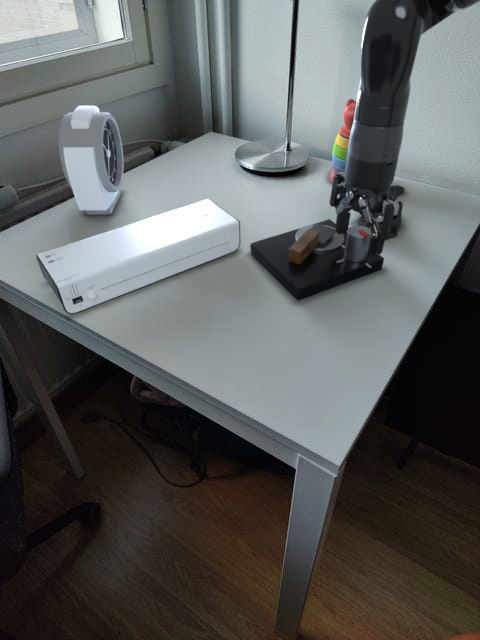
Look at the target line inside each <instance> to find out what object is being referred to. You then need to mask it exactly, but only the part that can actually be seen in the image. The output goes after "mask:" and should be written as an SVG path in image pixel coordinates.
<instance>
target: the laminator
mask: <svg viewBox="0 0 480 640" xmlns="http://www.w3.org/2000/svg"><path fill="white" fill-rule="evenodd" d="M240 246H241V221H240V220H239V219H238V218H236V216H233V215H232V214H231V213H229V212H228V211H227V210H225V209H224V208H223V207H221V206H220V205H218V204H217V203H215V202H214V201H213V200H211V199H210V198H207V199H204V200H200V201H199V202H194V203H192V204H188V205H186V206H183V207H179V208H177V209H173V210H170V211H167V212H164V213H161V214H158V215H153V216H152V217H148V218H145V219H142V220H139V221H136V222H133V223H129V224H127V225H124V226H120V227H116V228H114V229H112V230H107V231H105V232H102V233H99V234H96V235H93V236H90V237H87V238H82V239H80V240H77V241H74V242H71V243H68V244H64V245H61V246H59V247H55V248H52V249H49V250H47V251H43V252H40V253H37V254H35V258H36V260H37V263H38V266H39V268H40V272H41V274H42V276H43V278H44V279H45V280H46V281H47V283H48V285H49V286H50V288H51V289H52V291H53V294H55V296H56V297H57V299H58V301H59V302H60V304H61V306H62V308H63V310H64V312H65V313H66V314H69V315H76V314H79V313H82V312H84V311H87V310H90V309H93V308H94V307H97V306H99V305H102V304H105V303H107V302H110V301H112V300H115V299H118V298H120V297H123V296H125V295H128V294H130V293H133V292H135V291H139V290H141V289H143V288H146V287H149V286H151V285H154V284H156V283H158V282H161V281H164V280H167V279H169V278H171V277H174V276H177V275H180V274H181V273H185V272H187V271H190V270H192V269H194V268H198V267H200V266H202V265H205V264H209V263H210V262H213V261H215V260H218V259H220V258H223V257H225V256H229V255H231V254H233V253H235V252H236V251H238V250H239V248H240Z"/></svg>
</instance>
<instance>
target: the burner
mask: <svg viewBox="0 0 480 640" xmlns="http://www.w3.org/2000/svg"><path fill="white" fill-rule="evenodd" d="M313 226H314V225H312V224H309V225H305V226H303V228H302V227H300V228H301V229H299V228H298V229H299V230H298V231H297V233H296V241H297V240H298V239H299V238H300V237H301V236H302V235H303V234H304V233H305V232H306V231H307V230H308V229H311V228H312V227H313ZM323 226H327V225H323ZM327 227H330V228H333V227H331V226H327ZM333 229H336V228H333ZM343 243H344V235H343V234H340V235H339V234H338V233H335V234H334V235H333V236H332V237H331V238H330V240H329V241H328V242H327V243H326V244H325V245H321V244H318V245H317V246H316V247H315V248H314V250H313V251H318V252H326V251H332V250H335V249H337V248H339V247H341V245H342V244H343Z"/></svg>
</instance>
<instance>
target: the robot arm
mask: <svg viewBox="0 0 480 640" xmlns="http://www.w3.org/2000/svg"><path fill="white" fill-rule="evenodd" d="M478 3H480V0H374V2H373V3H372V4H371V6H370V8H369V9H368V12H367V14H366V16H365V20H364V24H363V30H362V37H361V46H360V47H361V49H360V69H359V70H360V73H359V74H360V76H359V77H360V79H359V86H358V90H357V95H356V100H357V101H356V100H355V101H356V108H355V115H354V121H353V125H352V128H351V132H350V138H349V145H348V152H347V160H346V167H345V172H342V173H338V174H335V175H334V179H333V182H332V186H331V190H330V191H331V192H330V197H329V206H330V207H332V208H333V207H334V209H335V213H336V220H335V223H336V233H338V234H339V235H340V234H343V233H346V232H348V229H349V228H350V227H349V226H350V219H351V211H354V212H356V213H358V214H359V215H360V217H361V216H363V217H364V218H365V222H366V225H368V226H369V227H370V230H371V234H372V235H371V239H370V244H369V249H368V254H367V255H368V256H369V257H371V258H372V257H375V256H378V255H381V254H382V253H383V251H384V246H385V242H386V241H388V240H390V239H391V240H392V239H394V238H396V237H398V235H399V231H400V229H399V224H400V219H401V216H402V213H403V208H404V204H403V201H401V200H398V201H397V200H396V201H395V202H394V201H391V200H389V199H388V190H389V187H390V186H392V184H393V182H394V179H395V176H396V170H397V167H398V166H397V165H398V163H399V158H400V153H401V147H402V142H403V136H404V127H405V120H406V116H407V111H408V106H409V101H410V94H411V85H412V84H411V83H412V82H411V77H412V73H413V70H414V66H415V60H416V58H417V52H418V48H419V45H420V41H421V37H422V36H423V34H425V33H426V32H428V31H429V30H431V29H432V28H433V27H435V26H437V25H438V24H440V23H442V22H443V21H444V20H446V19H447V18H449V17H450V16H452V15H453V14H455V13H456V12H459V11H463V10H466V9H468V8H470V7H472V6H474V5H476V4H478ZM377 212H378V213H379V217H378V218H376V219H374V218H372V215H375V214H376V213H377ZM401 220H402V219H401ZM377 223H379V225H380V229H381V230H378V228H377ZM390 227H391V229H390ZM389 229H390V230H389ZM398 230H399V231H398Z"/></svg>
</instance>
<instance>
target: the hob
mask: <svg viewBox="0 0 480 640" xmlns="http://www.w3.org/2000/svg"><path fill="white" fill-rule="evenodd" d="M316 223H317V224H320V225H327V226H331V227H333V228H336V222H334V221H333V220H332V219H330V218H329V219H325V220H323V221H319V222H316ZM314 224H315V223H311V225H314ZM303 227H304V226H303ZM303 227H299V228H296V229H292V230H290V231H286V232H284V233H280V234H277V235H273V236H270V237H267V238H263V239H261V240H257V241H253V242H251V243H250V255H251V256H252V258H254V259H255V260H256V261H257V262H258V264H260V265H261V267H263V268H264V269H265V270H266V271H267V273H269V274H270V276H272V277H273V278H274V280H276V281H277V282H278V283H279V284H280V285H281V287H283V288H284V289H285V290H286V291H287V292H288V293H289V294H290V295H291V296H292V297H293V298H294V299H295V300H296V301H297V302H299V301H301V300H304V299H307V298H310V297H313V296H315V295H318V294H321V293H324V292H326V291H329V290H332V289H334V288H337V287H339V286H343V285H345V284H348V283H350V282H353V281H356V280H358V279H362V278H364V277H367V276H369V275H372V274H374V273H377V272H379V271H382V270H383V266H384V261H385V258H384V257H383V256H382V255H381V254H379V255H378V256H375V257H372V258H371V257H369V256H368V255H367V259H366V260H365V261H363V262H351V261H349V260H347V259H346V258H345V257H344V252H345V246H346V239H347V233H348V231H347V232H346V233H343V235H344V243H343V244H342V245H341V247H339V248H337V249H335V250H332V251H326V252H318V251H312V252H311V253H310V254H309V255H308V256H307V257H306V258H305V259H304V261H303V262H302V263H301V264H297V263H294V262H291V261H289V249H290V247H291V246H292V245H293V244H294V243H295V242H296V233H297V231H298V230H299V229H301V228H303Z"/></svg>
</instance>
